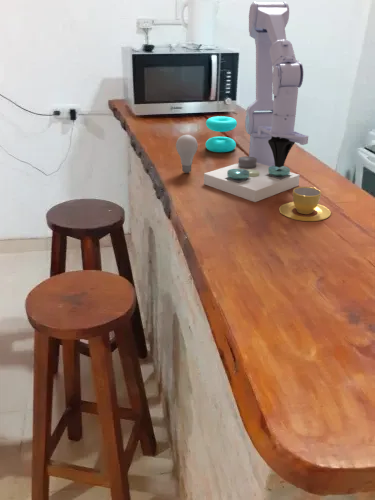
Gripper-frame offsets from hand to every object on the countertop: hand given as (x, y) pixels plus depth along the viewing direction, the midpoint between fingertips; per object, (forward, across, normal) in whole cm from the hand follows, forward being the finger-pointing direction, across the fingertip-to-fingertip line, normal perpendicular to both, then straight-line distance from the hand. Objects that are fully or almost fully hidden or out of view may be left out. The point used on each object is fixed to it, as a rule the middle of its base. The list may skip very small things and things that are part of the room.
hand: (279, 166), depth 134 cm
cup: (+6, +16, -9) cm, 19 cm away
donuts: (+6, -35, +15) cm, 39 cm away
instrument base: (+6, -5, -5) cm, 9 cm away
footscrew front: (+6, -5, -10) cm, 13 cm away
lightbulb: (+6, -24, -11) cm, 27 cm away
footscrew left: (+6, 0, 0) cm, 6 cm away
